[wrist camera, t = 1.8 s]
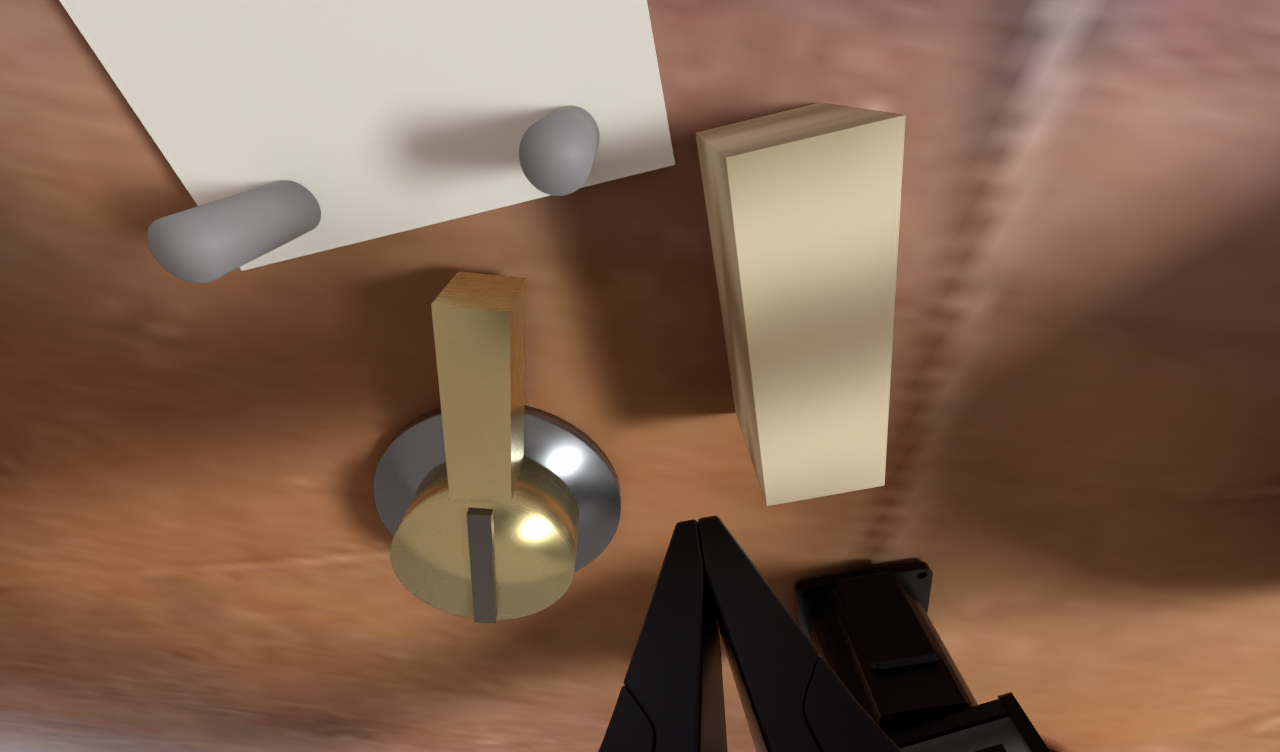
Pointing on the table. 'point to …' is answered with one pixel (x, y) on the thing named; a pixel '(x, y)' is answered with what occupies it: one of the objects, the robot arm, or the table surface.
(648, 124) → the peg rack
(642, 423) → the table surface
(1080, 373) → the table surface
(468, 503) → the brass lever handle
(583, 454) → the base
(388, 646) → the table surface
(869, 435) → the beech bar
